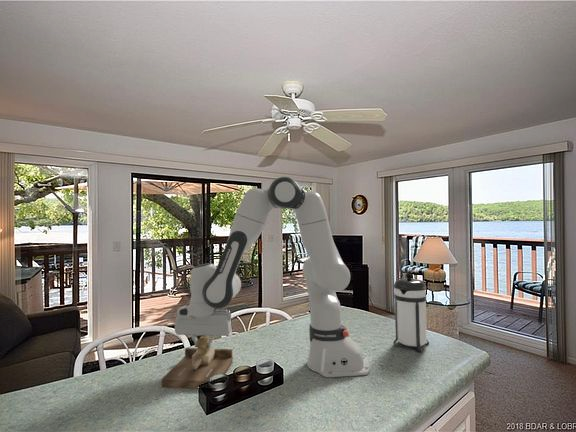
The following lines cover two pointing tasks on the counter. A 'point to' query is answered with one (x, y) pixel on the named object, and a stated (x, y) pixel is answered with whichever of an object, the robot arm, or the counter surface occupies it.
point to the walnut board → (197, 370)
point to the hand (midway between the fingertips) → (203, 346)
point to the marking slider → (202, 353)
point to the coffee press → (410, 312)
